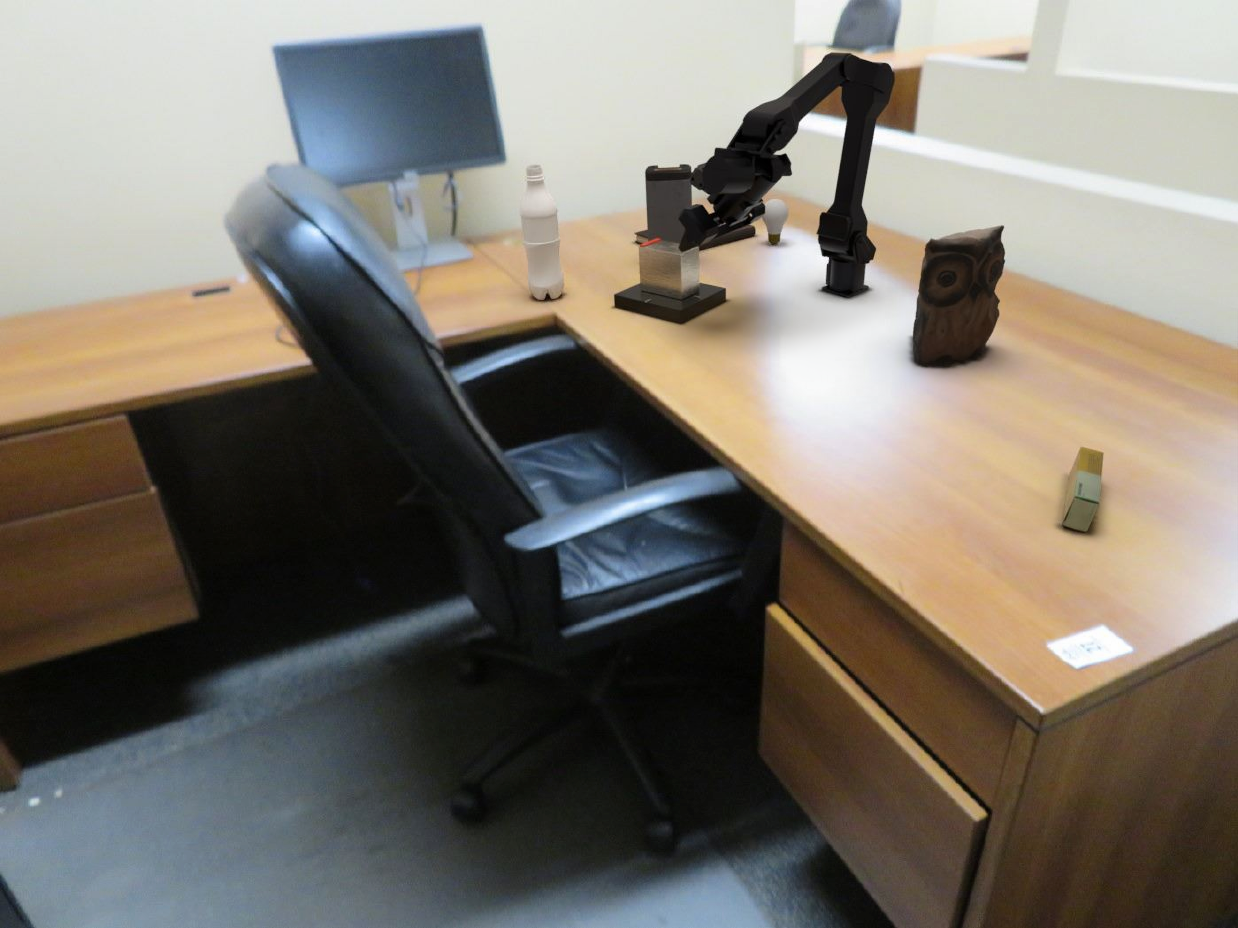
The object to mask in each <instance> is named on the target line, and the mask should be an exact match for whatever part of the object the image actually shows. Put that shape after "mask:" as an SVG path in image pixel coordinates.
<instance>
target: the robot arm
mask: <svg viewBox="0 0 1238 928" xmlns="http://www.w3.org/2000/svg"><path fill="white" fill-rule="evenodd" d="M895 81H896V75H895V71H893V68H892V66H891V65H890V64H889V63H887V62H880V61H879V62H878V61H870V60H867V59H864V58H861V57H859V56H857V55H855V54H853V53H852V52H833V51H832V52H829V53H826V54H825V55H824V56H823V57H822V59H821V61H820V62H819V63H818V64H817V65H816V66H815V67H813V68H812V69H811V70H810V71H809V72H807V73H806V74H805V75H804V76H803V77H802V78H801V79H800V80H798V81H797V82H796V83H795V84H794V85H793V86H792V87H790V88H789V89H788V90H787V91H786V92H784V94H782V95H781V96H779V97H778V98H775V99H773V100H770V101H765V102H763V103H761V104H759V105H757V106H756V107H754V108H752V109H750V110H749V111H747V112H746V114H745V115H744V116H743V118H742V122H741V124H740V125H739V127H738V129H737V131H735V134H734V135H733V136H732V138H731V140H730V141H729V143H728V145H727V146H726V148H725V147H715V148H714V152H713V155H712V156H711V157H709V159H707V161H706V162H704V163H700V164H698V165H697V166H696V167H694V169H693V171H691V173H690V177H691V178H690V183H691V185H692V187H694V188H695V189H697V190H698V191H703V192H704V193H705V194H707V195H708V196H707V198H706V200H707V201H708V203H709V204H710V205H713V206H712V210H713V212H711V213H709V212H708V209H707V208H706V207H705V206H704V204H701V203H695V204H692V206H689V207H687V208H684V209H683V211H682V212H681V213H680V214H679V215H678V219H679V221H680V222H681V224H682V225H683V226H684V228H685V230H684V234H683V236H682V239H681V242H680V244H679V247H678V248H679V250H680V251H681V252H685V251H687V250H690V249H692V248H695V247H698V246H700V245H703V244H705V243H708V242H710V241H711V239H715V238H717V237H720V236H722V235H725V234H727V233H730V232H732V231H735V230H737V229H740V228H742V227H745V226H747V225H753V223H755V222H756V221H759V220H760V219H762V216H763V215H764V214H765V203H764V200H763V198H764V197H765V196H766V195H767V194H768V193H769V192H770V190H771V189H773V188H774V187H775V185H777V183H778V182H779V181H780V180H781V179H782V178H783V177H791V176H792V175H793V171H792V161H791V159H790V157H789V156H788V154H787V152H784V153H781V154H776V153H777V152H779V151H782V150H783V149H785V148H786V147H787V145H788V144H789V143H790V142H791V140H793V138H794V137H795V136H796V135H797V133H798V130H799V127H800V123H801V121H802V120H803V119H804V118H805V117H806V116H807V115H808V114H809V113H811V112H812V111H813V110H814V109H815V108H816V107H817V106H818V105H820V104H821V103H822V102H823V101H824V100H825V99H826V98H827V97H829V96H830V95H831V94H832V93H833V92H834V91H836V90H837V89H838V88H841V91H840V92H841V93H840V101H841V104H842V107H843V110H844V112H845V116H846V122H845V128H844V134H843V135H844V136H843V141H842V148H841V154H840V161H839V167H838V174H837V179H836V187H835V191H834V198H833V202H832V204H831V205H830V206H829V208H828V209H827V210H826V211H822V212H821V213H820V214H819V219H818V222H819V223H818V227H817V230H816V233H815V234H816V235H817V243H818V244H819V249H820V253H821V257H824V258H828V262H827V263H826V267H825V268H826V269H825V270H826V272H825V285H824V286H822V287H821V291H824V292H827V293H831V294H835V295H838V296H841V297H846V298H851V297H853V296H854V295H857V294H860V293H862V292H865V291H866V290H869V285H866V284H865V278H866V277H865V275H866V266H867V265H868V264H870V262H871V261H873V260H874V258H875V254H876V252H877V247H876V245H875V244H874V243H873V242H872V241H871V239H870V238H869V237H868V225H869V223H868V222H869V221H868V218H867V215H866V212H865V210H864V206H863V200H864V194H865V190H866V189H865V188H866V183H867V178H868V170H869V165H870V159H871V153H872V148H873V141H874V136H875V129H876V126H877V125H876V124H877V119H879V117H880V115H881V114H882V113H883V111H884V110H885V109H886V107H887V106H888V104H889V103H890V100H891V96H892V92H893V88H894V87H895Z"/></svg>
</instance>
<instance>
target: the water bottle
mask: <svg viewBox="0 0 1238 928" xmlns="http://www.w3.org/2000/svg"><path fill="white" fill-rule="evenodd" d="M525 172H526V175H525V182H526V189H525V192H524V195H523V198H522V200H521V203H520V206H519V216H520V221H521V230H522V245H523V247H524V250H525V254H526V259H527V286H528V289H529V292H530V293H531V295H532V296H533V297H534V298H535V299H537V301H544V300H545V299H546V297H547V294H548V296H549V297H550V299H551V300H555V299H558V298H559V297H560V296H561V295H562V293H563V291H564V288H565V276H564V272H563V269H562V264H561V258H560V257H561V256H560V245H561V236H560V229H559V219H558V207H557V204H556V202H555V200H554V199H553V197H552V195H551V194H550V192H549V191H548V188H547V187H546V185H545V176H544V173H543V166H542V165H541V164H531V165H527V166H525Z"/></svg>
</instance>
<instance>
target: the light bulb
mask: <svg viewBox="0 0 1238 928" xmlns="http://www.w3.org/2000/svg"><path fill="white" fill-rule="evenodd" d="M764 205H765V214H764V215H763V216H762V217H761V219H762V221H763V223H764V225H765V228H766V232H767V242H768V243H769V244H771V246H776V245H777V244H778V243H780V242H781V234H782V231H783V228H784V225H785V223H786V222H787V220H788V218H789V214H790V213H789V207H788V205H787V203H786V202H785V201H784V200H782V199H779V198H773V199H769V200H768V201H767V202H765V203H764Z"/></svg>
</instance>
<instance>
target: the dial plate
mask: <svg viewBox="0 0 1238 928" xmlns="http://www.w3.org/2000/svg"><path fill="white" fill-rule="evenodd" d="M726 301H727V288H726V287H723V286H717V285H713V284H709V283H703V282H699V292H697V293H695V294H693V295H691V296H689V297H687V298H685V299H683V300H680V299H676V298H672V297H667V296H663V295H659V294H654V293H650V292H646V291H641V288H640V282H638V283H637V284H634V285H633V286H630V287H628V288H626V289H623V290H621V291H618V292H616V293H614V294H613V302H614V308H617V309H621V310H626V311H629V312H633V313H637V314H642V315H645V316H649V317H653V318H658V319H661V320H665V321H669V322H672V323H676V324H680V325H681V324H682V323H683V324H684V323H685V322H687V321H689V320H690V319H693V318H695V317H697V316H698V315H700V314H702V313H705V312H707V311H708V310H711V309H712V308H715V307H716V306H718V305H720V304H722V303H724V302H726Z"/></svg>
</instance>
